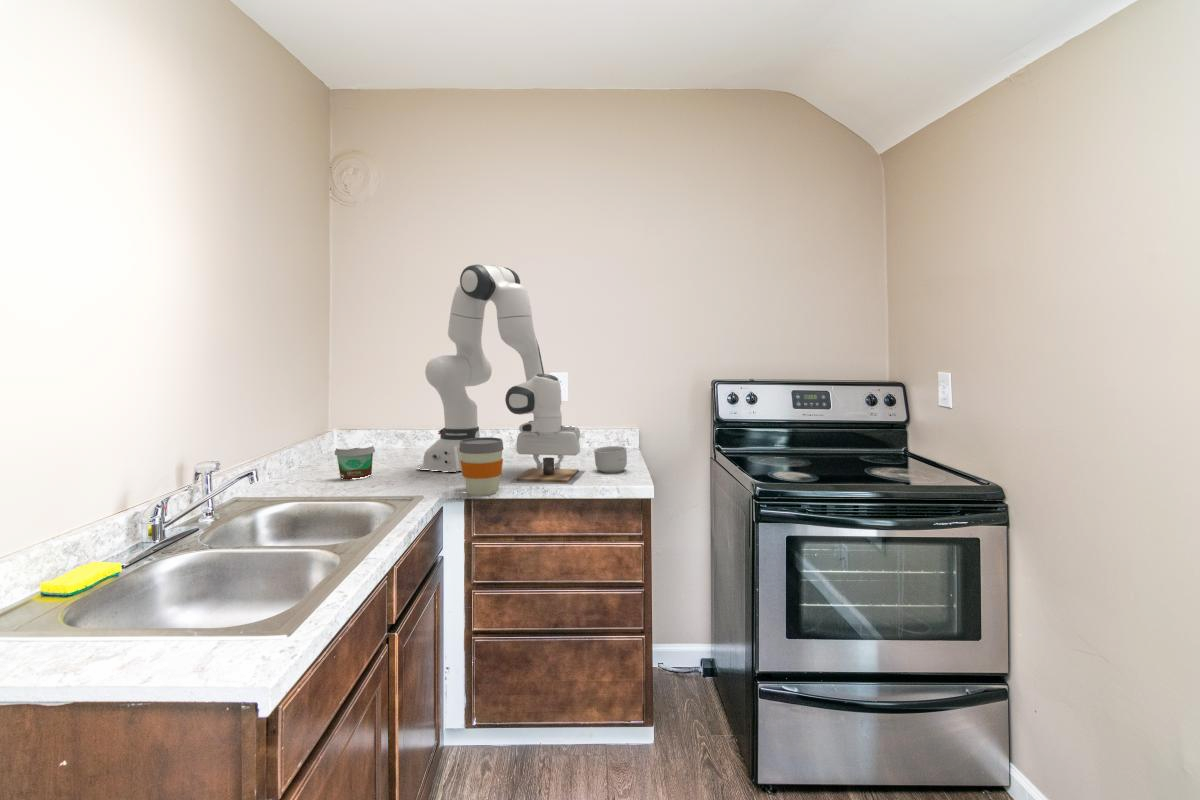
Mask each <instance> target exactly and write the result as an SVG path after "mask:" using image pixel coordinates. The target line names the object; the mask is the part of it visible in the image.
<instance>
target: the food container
mask: <svg viewBox="0 0 1200 800" xmlns="http://www.w3.org/2000/svg"><path fill="white" fill-rule="evenodd" d="M375 452H376V449H375V447H374V445H371V446H368V447H364V448H362V447H361V448H360V447H358V448H357V447H355V448H349V449H343V448H342V449H340V448H337V447H336V448H335V450H334V455H335V456H336V459H337V465H338V469H339V470H338V471H339V477H340V479H341V478H343V479H352V478H360V477H365V476H368V475H371V474H373V460H374V459H373V458H374V453H375ZM371 476H372V475H371ZM343 479H342V480H343Z"/></svg>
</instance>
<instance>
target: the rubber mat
mask: <svg viewBox="0 0 1200 800" xmlns="http://www.w3.org/2000/svg"><path fill="white" fill-rule="evenodd" d="M530 469H531V468H530ZM530 469H529V468H528V469H526V470H525V471H524V472H522V473H520V474H518V475H517V476H515V478H513V479H512V480H510V481H508V483H509V484H510V483H514V484H518V483H519V484H538V485H539V484H543V485H546V484H547V485H571V486H572V485H573V484H574V483H576V481H577V480H578V479H580V478H581V477H582V476H583V475H584V474H585V473H586V471H587V470H579V472H578V473H577V474H576V475H575V476H574V477H573V478H572V479H571V480H570V481H569V482H567V483H560V482H529V481H517V478H518V477H520V476H521V475H523V474H524V473H526V472H527V471H529V470H530Z"/></svg>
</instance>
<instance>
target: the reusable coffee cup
mask: <svg viewBox="0 0 1200 800" xmlns="http://www.w3.org/2000/svg"><path fill="white" fill-rule="evenodd" d="M503 450H504V442H503V439H502V438H499V437H489V436H488V437H487V436H486V437H484V436H483V437H479V438H470V439H464V440H461V441H460V448H459V452H461V458H462V460H461V467H462V471H461V472H462V473H461V474H462V477H464V483H465V488H466V493H467V494H468V495H470V496H479V497H480V496H490V495H495V494H496V493H497V492H498V491H499V488H500V487H499V486H500V480H501V479H500V477H501V475H502V473H503V463H504V462H503V461H504V459H503Z"/></svg>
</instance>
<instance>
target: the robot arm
mask: <svg viewBox="0 0 1200 800" xmlns="http://www.w3.org/2000/svg"><path fill="white" fill-rule="evenodd" d="M490 301H491V302H492V303H493V304H494V305H495V308H496V319H497V321H496V322H497V328H498V329H497V330H498V334H499V336H500V338H501V340H502V341H503V342H504V343H505V344H506V345H507V346H508V347H510V348H512V349H513V350H515V351H516V352H517V353H518V354H519V356H520V358H521V359H522V363H523V371H524V374H525V381H526V382H522V383H519V384H517V385H513V386H512V387H510V388H508V390H507V392H506V394H505V400H504V401H505V405H506V407H507V409H508V410H509V412H511V413H512V414H515V415H530V414H533V420H530V421H528V422H525V423H522V424H520V425H519V427H518V431H519V433H518V435H517V437H516V449H515V450H516V452H517V454H518V455H532V459H533V461H535V463H536V468H537V469H543V461H542V462H541V460H540V459H539V458H540V455H542V456H557V459H558V461H557V462H554V469H561V463H562V461H563V459H564V456H572V457H573V456H574V457H575V456H578V455H579V453H580V452H581V446H580V438H581V431H580V429H579V428H578V427H577V426H575V425H563V423H562V422H563V421H562V412H561V407H562V406H561V405H562V390H561V382H560V379H559V378H558V377H556V376H555V375H552V374H547V373H545V371H544V366H543V360H542V355H541V351H540V350H541V349H540V345H539V343H538V339H537V337H536V334H535V333H536V332H535V329H534V322H533V314H532V313H533V312H532V307H531V302H530V298H529V295H528V291H527V289H526V287H525V286H524V285H522V284H521V279H520V276H519V275H518V273H516V271H514V270H513V269H511V268H509V267H502V266H499V265H494V264H493V265H492V264H490V265H488V264H487V265H486V264H485V265H481V264H472V265H468V266H466V267H465V268H463V270H462V272H461V273H460V277H459V284H458V285H457V287H456V289H455V291H454V294H453V297H452V302H451V307H450V313H449V314H450V315H449V321H448V326H447V327H448V329H447V335H448V338H449V339H450V341H452V342H453V343H454V344H455V348H456V355H455V354H452V355H450V354H449V355H447V354H446V355H441V356H437V357H434V358H431V359H430V360H429V361H428V362H427V364H426V366H425V371H424V373H425V374H424V375H425V378H426V380H427V382H428V383H429V385H430V386H431V387H433V388H434V389H435V390H436V392H437V393H438V394H439V396H440V400H441V401H442V405H443V414H444V415H443V416H444V419H443V420H444V427H443V428H442V429H441V428H440V430H438V431H437V432H438V435H440V436H439V439H437V441H436V442H434V443H433V444H432V445H431V446H429V447H428V448H427V449H426V450H425V451H424V455H423V459H422V461H423V462H422V463H420V464H418V465H417V466H416V469H417V468H420V469H429V470H438V471H448V472H455V471H461V472H462V467H461V460H462V458H461V452H459V448H460V441H461V440H464V439H470V438H481V436H480V427H479V425H478V406H477V403H476V402H475V401H474V400H473V399H471V398H470V397H469V394H468V393H467V389H466V387H476V386H477V387H478V386H479V385H482V384H485V383H487V382H488V381H489V380H490V378H491V376H492V371H493V370H492V364H491V362H490V361H489V359H488V358H487V357H486V355H485V353H484V351H483V343H482V333H483V325H484V319H485V318H484V317H485V311H486V310H485V309H486V306H487V304H488V303H489V302H490ZM419 466H420V467H419Z"/></svg>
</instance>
